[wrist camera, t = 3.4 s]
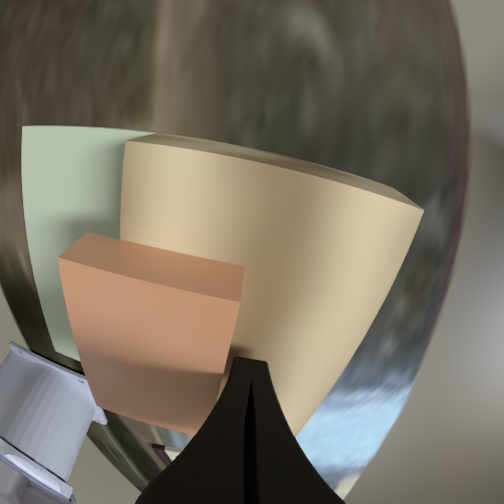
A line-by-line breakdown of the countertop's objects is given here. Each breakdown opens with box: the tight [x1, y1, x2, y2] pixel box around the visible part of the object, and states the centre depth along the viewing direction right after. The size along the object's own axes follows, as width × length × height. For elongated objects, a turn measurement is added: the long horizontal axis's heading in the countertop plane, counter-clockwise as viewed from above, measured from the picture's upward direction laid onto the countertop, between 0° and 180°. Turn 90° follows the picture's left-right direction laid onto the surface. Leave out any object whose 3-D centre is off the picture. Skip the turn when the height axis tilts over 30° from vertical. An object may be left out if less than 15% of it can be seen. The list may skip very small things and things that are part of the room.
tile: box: [58, 232, 245, 435], centre depth 11 cm, size 6×9×2 cm, turn 168°
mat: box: [22, 126, 157, 361], centre depth 14 cm, size 8×16×1 cm, turn 168°
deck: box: [120, 133, 424, 437], centre depth 13 cm, size 10×16×3 cm, turn 168°
